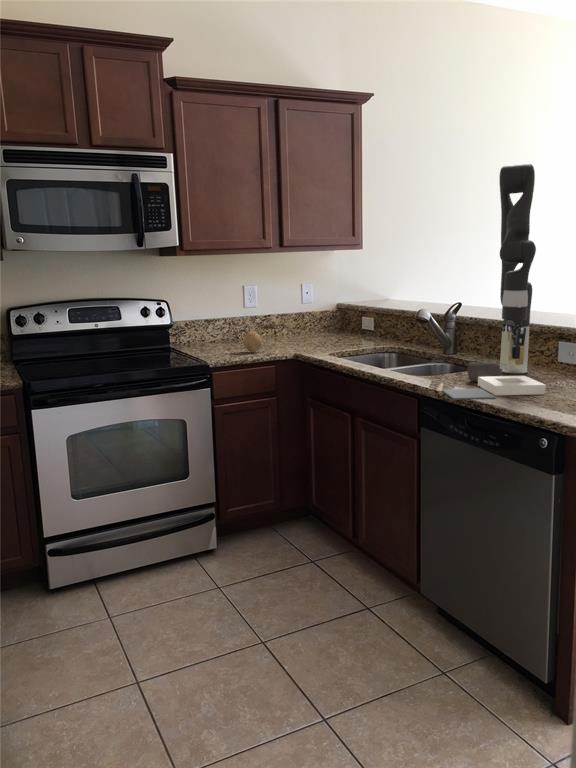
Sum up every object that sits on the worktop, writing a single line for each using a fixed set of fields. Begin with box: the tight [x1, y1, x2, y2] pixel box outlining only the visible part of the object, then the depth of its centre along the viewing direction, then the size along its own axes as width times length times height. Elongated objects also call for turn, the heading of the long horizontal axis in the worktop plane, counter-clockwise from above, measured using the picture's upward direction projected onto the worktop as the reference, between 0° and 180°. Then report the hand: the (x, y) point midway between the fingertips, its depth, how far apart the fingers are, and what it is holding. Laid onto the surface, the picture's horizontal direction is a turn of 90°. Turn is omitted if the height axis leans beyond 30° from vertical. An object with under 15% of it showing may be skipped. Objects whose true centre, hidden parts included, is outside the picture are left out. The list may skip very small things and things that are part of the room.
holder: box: [477, 375, 547, 396], centre depth 212 cm, size 16×16×3 cm
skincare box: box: [499, 331, 525, 371], centre depth 210 cm, size 6×4×12 cm
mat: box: [441, 388, 496, 401], centre depth 205 cm, size 13×13×1 cm
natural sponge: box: [242, 330, 264, 354], centre depth 301 cm, size 9×9×10 cm
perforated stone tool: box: [467, 361, 503, 383], centre depth 227 cm, size 15×5×7 cm, turn 111°
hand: (512, 357), depth 210 cm, fingers closed on skincare box, 5 cm apart
